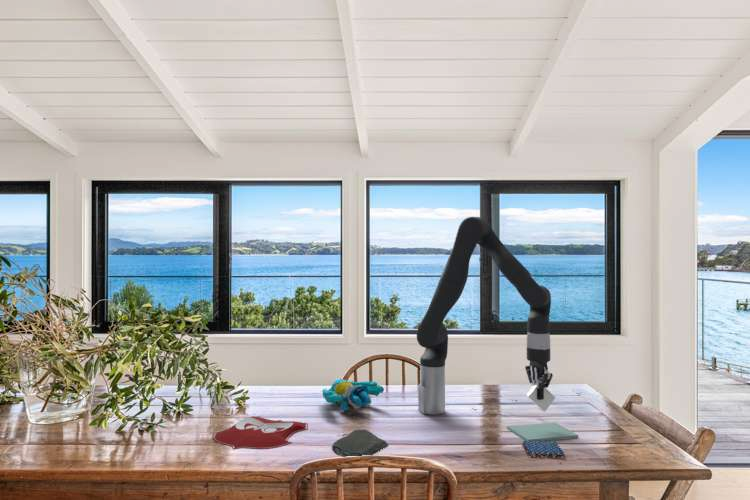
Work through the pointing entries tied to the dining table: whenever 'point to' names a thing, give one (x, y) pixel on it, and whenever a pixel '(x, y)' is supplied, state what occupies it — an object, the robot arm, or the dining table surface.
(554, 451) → the woven mat
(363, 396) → the toy
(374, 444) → the stone slab
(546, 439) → the mat
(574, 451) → the dining table surface
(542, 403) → the rectangular block
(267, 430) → the emblem
